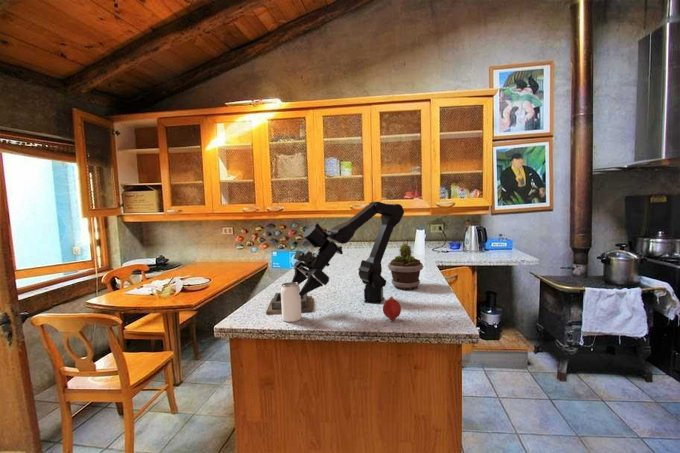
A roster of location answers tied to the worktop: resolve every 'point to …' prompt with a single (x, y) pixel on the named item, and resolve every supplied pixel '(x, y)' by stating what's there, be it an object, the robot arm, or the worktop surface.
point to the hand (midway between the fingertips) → (295, 291)
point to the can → (291, 302)
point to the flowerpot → (405, 269)
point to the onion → (391, 309)
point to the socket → (276, 305)
